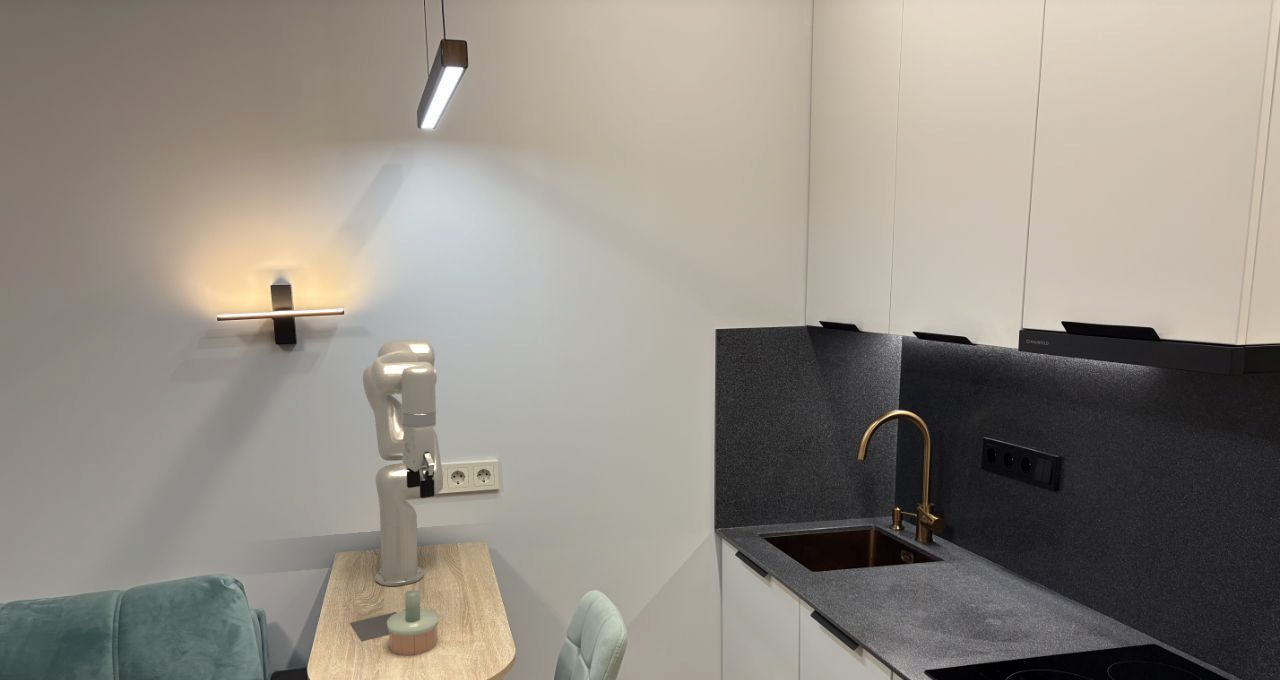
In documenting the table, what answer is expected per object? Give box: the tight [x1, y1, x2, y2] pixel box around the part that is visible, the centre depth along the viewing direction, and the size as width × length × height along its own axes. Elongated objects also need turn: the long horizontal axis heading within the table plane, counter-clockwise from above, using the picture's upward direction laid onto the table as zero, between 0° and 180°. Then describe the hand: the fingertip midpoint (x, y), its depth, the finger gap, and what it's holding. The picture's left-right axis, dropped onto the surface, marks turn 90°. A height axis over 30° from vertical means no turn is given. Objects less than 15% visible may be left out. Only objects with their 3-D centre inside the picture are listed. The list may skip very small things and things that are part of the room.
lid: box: [387, 589, 439, 636], centre depth 172 cm, size 11×11×7 cm
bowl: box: [388, 625, 438, 656], centre depth 173 cm, size 10×10×5 cm
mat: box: [349, 611, 398, 642], centre depth 181 cm, size 11×11×1 cm
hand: (420, 491), depth 180 cm, fingers open, 9 cm apart
